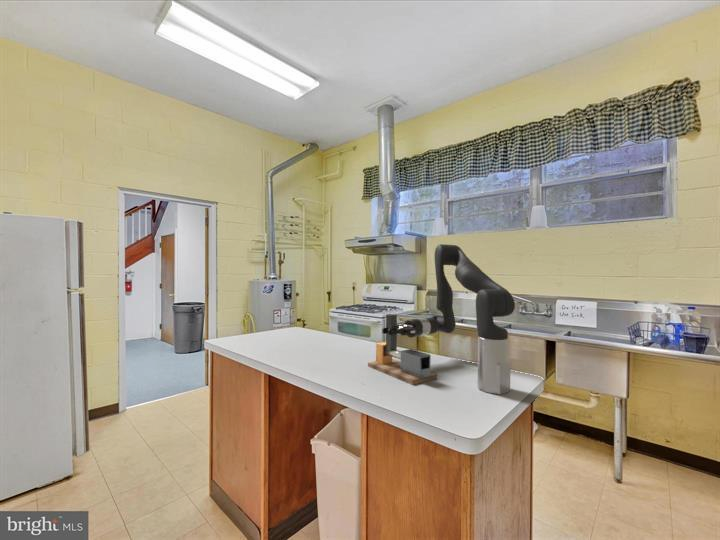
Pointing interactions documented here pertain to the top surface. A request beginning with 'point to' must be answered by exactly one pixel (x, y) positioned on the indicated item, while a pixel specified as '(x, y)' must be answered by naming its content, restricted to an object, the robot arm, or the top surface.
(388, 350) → the sliding bolt
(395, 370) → the base board
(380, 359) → the socket block
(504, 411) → the top surface
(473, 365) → the top surface
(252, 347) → the top surface
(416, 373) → the guide sleeve
